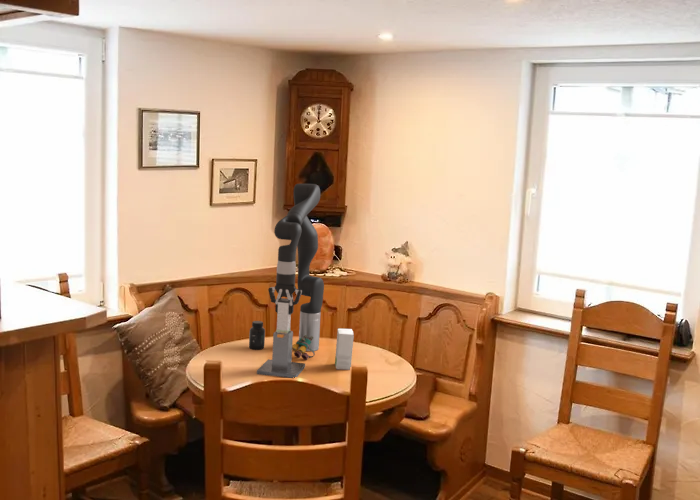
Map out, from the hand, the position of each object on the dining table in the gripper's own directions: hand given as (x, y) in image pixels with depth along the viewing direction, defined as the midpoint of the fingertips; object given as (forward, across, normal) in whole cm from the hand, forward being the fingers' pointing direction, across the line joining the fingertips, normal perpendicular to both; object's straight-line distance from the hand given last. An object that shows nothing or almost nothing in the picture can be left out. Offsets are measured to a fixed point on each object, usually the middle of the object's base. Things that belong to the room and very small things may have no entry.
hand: (284, 313), depth 286 cm
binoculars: (+24, -4, -19) cm, 31 cm away
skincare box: (+24, -23, -14) cm, 36 cm away
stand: (+24, 0, 0) cm, 24 cm away
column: (+15, 0, 0) cm, 15 cm away
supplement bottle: (+24, +19, -27) cm, 41 cm away
